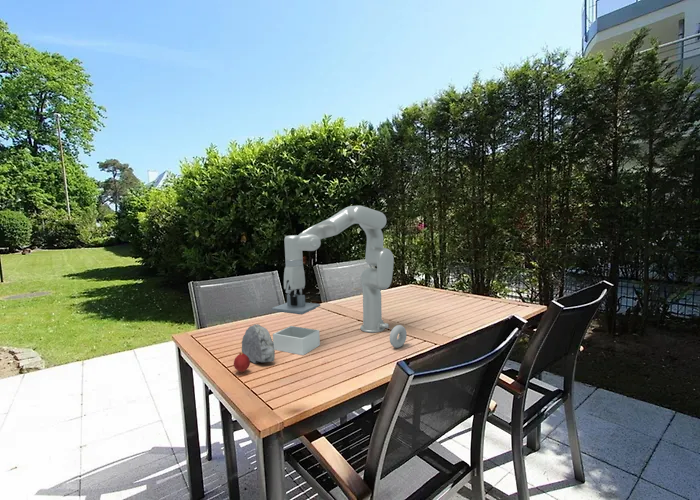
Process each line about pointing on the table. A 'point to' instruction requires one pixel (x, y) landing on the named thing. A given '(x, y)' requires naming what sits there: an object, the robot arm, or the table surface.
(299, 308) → the lid
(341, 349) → the table surface
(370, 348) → the table surface
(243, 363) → the onion
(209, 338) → the table surface
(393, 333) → the donut
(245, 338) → the decorative rock
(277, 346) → the tub
